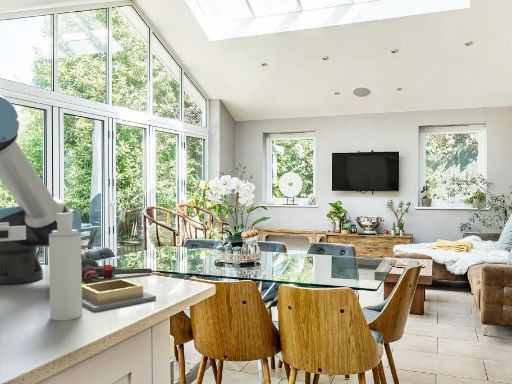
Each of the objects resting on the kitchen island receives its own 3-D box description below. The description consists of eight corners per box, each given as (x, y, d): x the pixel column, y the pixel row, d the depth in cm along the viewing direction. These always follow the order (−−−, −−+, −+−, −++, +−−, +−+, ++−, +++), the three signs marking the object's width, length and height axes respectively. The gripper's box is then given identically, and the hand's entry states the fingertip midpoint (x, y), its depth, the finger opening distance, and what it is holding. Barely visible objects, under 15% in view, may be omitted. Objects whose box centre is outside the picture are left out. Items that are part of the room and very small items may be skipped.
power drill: (68, 295, 132) (65, 278, 145) (158, 290, 143) (147, 274, 156) (69, 274, 131) (66, 259, 144) (159, 270, 142) (148, 256, 156)
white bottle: (87, 312, 107) (85, 205, 106) (72, 321, 100) (70, 206, 99) (60, 311, 107) (58, 205, 107) (44, 320, 101) (41, 206, 100)
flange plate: (67, 297, 120) (67, 284, 120) (125, 288, 131) (124, 276, 131) (94, 312, 107) (94, 297, 107) (155, 300, 117) (155, 286, 117)
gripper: (-116, 251, 92) (2, 243, 106) (-109, 267, 73) (33, 254, 87) (-116, 214, 92) (2, 210, 106) (-110, 220, 73) (33, 214, 87)
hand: (16, 230), depth 97 cm, fingers open, 13 cm apart
